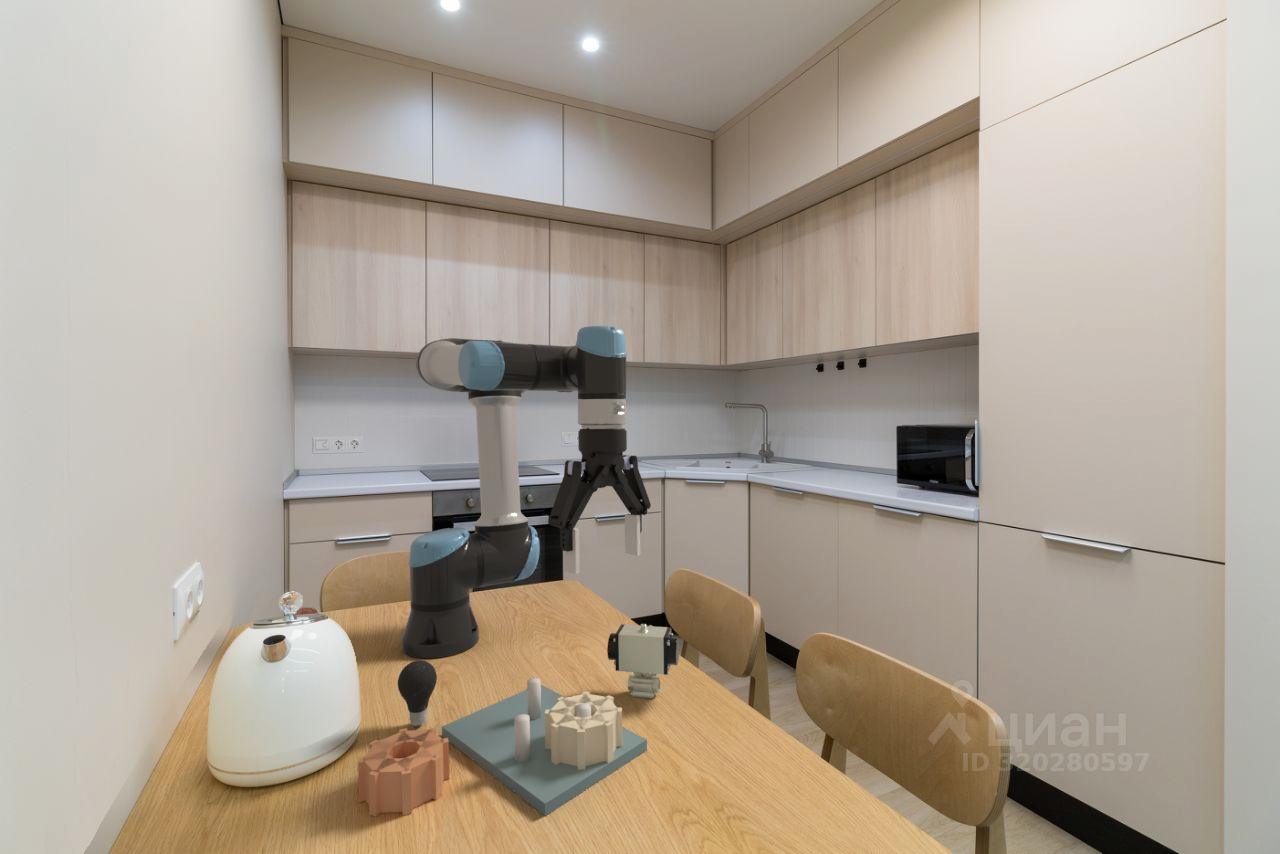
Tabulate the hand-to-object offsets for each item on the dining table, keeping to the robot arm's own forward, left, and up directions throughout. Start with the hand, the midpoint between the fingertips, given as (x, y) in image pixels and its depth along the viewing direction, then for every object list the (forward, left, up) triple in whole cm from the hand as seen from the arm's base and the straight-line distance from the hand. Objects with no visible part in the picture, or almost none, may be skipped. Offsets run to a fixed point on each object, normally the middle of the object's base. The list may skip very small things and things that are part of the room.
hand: (603, 562), depth 90 cm
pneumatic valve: (-1, +10, -25) cm, 27 cm away
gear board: (-2, -11, -24) cm, 27 cm away
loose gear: (-7, -29, -24) cm, 39 cm away
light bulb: (-20, -21, -25) cm, 38 cm away
